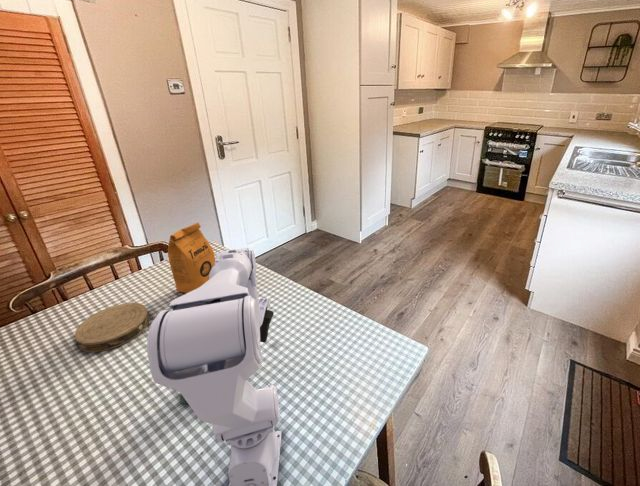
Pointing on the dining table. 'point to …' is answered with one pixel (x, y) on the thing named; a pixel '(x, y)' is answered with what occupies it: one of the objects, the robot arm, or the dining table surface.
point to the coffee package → (190, 258)
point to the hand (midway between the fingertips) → (252, 354)
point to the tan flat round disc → (112, 327)
